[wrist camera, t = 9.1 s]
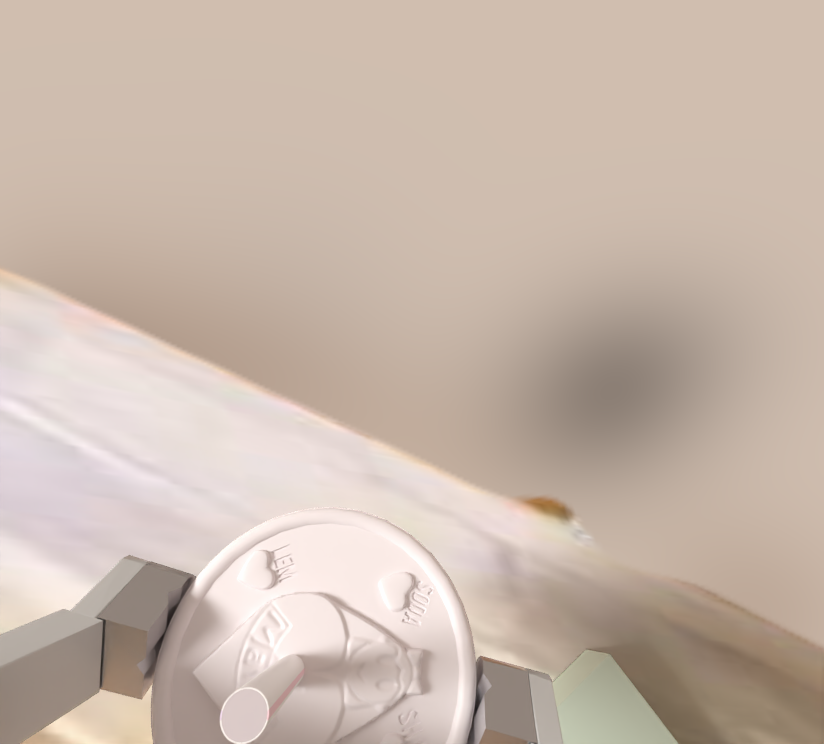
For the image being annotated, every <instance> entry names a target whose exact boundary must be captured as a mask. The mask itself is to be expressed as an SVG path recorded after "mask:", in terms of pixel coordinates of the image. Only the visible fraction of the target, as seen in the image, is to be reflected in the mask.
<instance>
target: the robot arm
mask: <svg viewBox="0 0 824 744" xmlns="http://www.w3.org/2000/svg"><path fill="white" fill-rule="evenodd" d="M195 579H196V576H194V575H193V574H189V573H186V572H183V571H180V570H177V569H174V568H170V567H167V566H164V565H161V564H158V563H154V562H150V561H147V560H143V559H140V558H137V557H134V556H131V555H128V556H126V557H124V558H123V559H121V560H120V561H119V562H118V563H117V564H116V565H115V566H114V567H113V568H112V569H111V570H110V571H109V572H108V573H107V574H106V575H105V576H104V577H103V578H102V579H101V580H100V581H99V582H98V583H97V584H96V585H95V586H94V587H93V588H92V589H91V590H90V591H89V592H88V593H87V594H86V595H85V596H84V597H83V598H82V599H81V600H80V601H79V602H78V603H77V604H76V605H75V606H74V607H73V608H72V609H71V610H70V611H69V610H66V609H62V610H59V611H57V612H55V613H52V614H50V615H47V616H45V617H42V618H40V619H37V620H35V621H32V622H30V623H28V624H25V625H23V626H20V627H18V628H15V629H13V630H10V631H8V632H6V633H3V634H1V635H0V744H20V743H22V742H23V741H25V740H26V739H28V738H29V737H31V736H32V735H34V734H36V733H37V732H39V731H40V730H42V729H43V728H45V727H46V726H48V725H49V724H51V723H52V722H54V721H55V720H57V719H58V718H60V717H62V716H63V715H65V714H66V713H68V712H69V711H71V710H72V709H74V708H75V707H77V706H78V705H80V704H81V703H83V702H85V701H86V700H88V699H89V698H91V697H92V696H94V695H95V694H97V693H98V692H99V691H100V689H102V690H106V691H110V692H114V693H118V694H122V695H126V696H130V697H133V698H137V699H141V700H142V698H143V697H144V695H145V694H146V692H147V691H148V689H149V688H150V686H151V685H152V683H153V679H154V673H155V667H156V663H157V659H158V655H159V651H160V648H161V645H162V642H163V639H164V636H165V633H166V631H167V628H168V626H169V624H170V621H171V619H172V617H173V615H174V613H175V611H176V609H177V607H178V605H179V603H180V601H181V600H182V598H183V597H184V595H185V593H186V592H187V590H188V589H189V587H190V586H191V584H192V583H193V582H194V580H195ZM466 744H563V739H562V733H561V728H560V723H559V717H558V712H557V706H556V701H555V696H554V690H553V685H552V679H551V678H550V676H549V674H545V673H542V672H538V671H534V670H531V669H527V668H524V667H520V666H517V665H513V664H509V663H506V662H502V661H498V660H494V659H491V658H487V657H483V656H480V657H479V658H478V659H477V661H476V697H475V707H474V713H473V719H472V724H471V728H470V732H469V736H468V740H467V743H466Z"/></svg>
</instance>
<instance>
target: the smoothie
mask: <svg viewBox="0 0 824 744" xmlns="http://www.w3.org/2000/svg"><path fill="white" fill-rule="evenodd" d="M475 697H476V658H475V649H474V643H473V637H472V633H471V629H470V625H469V621H468V618H467V615H466V612H465V609H464V606H463V603H462V601H461V599H460V597H459V594H458V592H457V590H456V588H455V586H454V585H453V583H452V581H451V579H450V578H449V576H448V574H447V573H446V572H445V570H444V569H443V567H442V566H441V564H440V563H439V562H438V561H437V559H436V558H435V557H434V556H433V555H432V553H431V552H430V551H429V550H428V549H427V548H426V547H425V546H424V545H423V544H422V543H420V542H419V541H418V540H417V539H415V538H414V537H413V536H412V535H411V534H409V533H408V532H406V531H405V530H403V529H402V528H400V527H399V526H397V525H395V524H393V523H391V522H389V521H387V520H385V519H383V518H380V517H378V516H375V515H373V514H369V513H366V512H362V511H358V510H353V509H347V508H336V507H320V508H311V509H303V510H299V511H294V512H290V513H287V514H284V515H281V516H277V517H275V518H273V519H270V520H268V521H266V522H263V523H261V524H259V525H258V526H256V527H254V528H252V529H250V530H249V531H247V532H246V533H244V534H242V535H241V536H239V537H238V538H236V539H235V540H234V541H233V542H231V543H230V544H229V545H228V546H226V547H225V548H224V549H223V550H222V551H221V552H220V553H218V554H217V555H216V556H215V557H214V558H213V559H212V560H211V561H210V562H209V563H208V565H207V566H206V567H205V568H204V569H203V570H202V571H201V572H200V574H199V575H198V576H197V578H196V579H195V580H194V582H193V583H192V584H191V586H190V587H189V589H188V590H187V592H186V593H185V595H184V597H183V598H182V600H181V601H180V603H179V605H178V607H177V609H176V611H175V613H174V615H173V617H172V619H171V621H170V624H169V626H168V628H167V631H166V633H165V636H164V639H163V642H162V645H161V648H160V651H159V655H158V659H157V663H156V667H155V673H154V679H153V686H152V698H151V728H152V737H153V744H466V743H467V740H468V736H469V732H470V728H471V724H472V719H473V713H474V707H475Z"/></svg>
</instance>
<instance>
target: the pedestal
mask: <svg viewBox="0 0 824 744" xmlns="http://www.w3.org/2000/svg"><path fill="white" fill-rule="evenodd" d="M552 685H553V690H554V696H555V701H556V706H557V712H558V717H559V723H560V728H561V733H562V739H563V744H678V742H677V741H676V740H675V738H674V737H673V736H672V734H671V733H670V732H669V731H668V729H667V728H666V727H665V725H664V724H663V723H662V721H661V720H660V719H659V718H658V716H657V715H656V714H655V712H654V711H653V710H652V708H651V707H650V706H649V704H648V703H647V702H646V701H645V699H644V698H643V697H642V695H641V694H640V693H639V691H638V690H637V689H636V687H635V686H634V685H633V684H632V682H631V681H630V680H629V678H628V677H627V676H626V674H625V673H624V672H623V671H622V669H621V668H620V667H619V665H618V664H617V663H616V661H615V660H614V659H613V657H612V656H611V655H610V654H608V653H602V652H597V651H592V650H587V649H586V650H585V651H584V652H583V653H582V654H581V655H580V656H579V657H578V658H577V659H576V660H575V661H574V662H573V663H572V664H571V665H570V666H569V667H568V668H567V669H566V670H565V671H564V672H563V673H562V674H561V675H560V676H559V677H558V678H557V679H556V680H555V681H554V682H553V683H552Z"/></svg>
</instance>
